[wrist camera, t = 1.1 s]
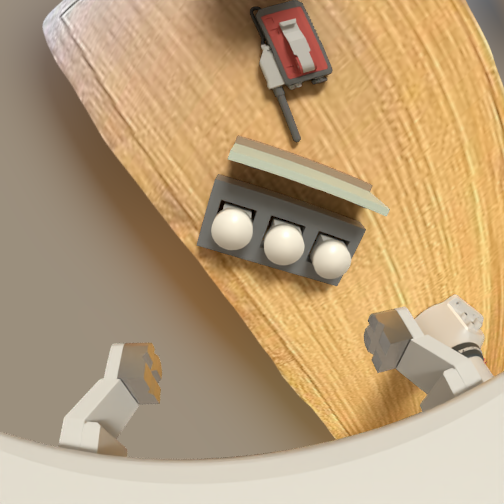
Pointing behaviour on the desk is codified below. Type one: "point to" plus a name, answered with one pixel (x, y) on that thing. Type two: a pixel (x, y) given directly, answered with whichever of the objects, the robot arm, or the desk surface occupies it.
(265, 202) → the button board
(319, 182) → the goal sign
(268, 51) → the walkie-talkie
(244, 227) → the button
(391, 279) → the desk surface
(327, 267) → the button
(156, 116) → the desk surface
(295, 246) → the button middle
